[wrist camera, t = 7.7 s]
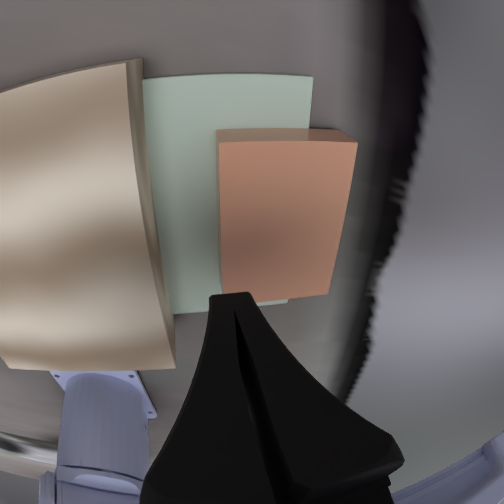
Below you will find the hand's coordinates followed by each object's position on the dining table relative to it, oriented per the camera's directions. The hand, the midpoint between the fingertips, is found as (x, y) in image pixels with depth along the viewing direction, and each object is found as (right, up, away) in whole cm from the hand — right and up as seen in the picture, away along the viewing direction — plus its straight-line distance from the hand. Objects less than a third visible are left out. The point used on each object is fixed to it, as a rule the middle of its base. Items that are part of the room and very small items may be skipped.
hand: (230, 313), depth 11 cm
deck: (-10, +4, +4) cm, 12 cm away
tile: (+2, +3, +4) cm, 6 cm away
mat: (-1, +4, +6) cm, 7 cm away
